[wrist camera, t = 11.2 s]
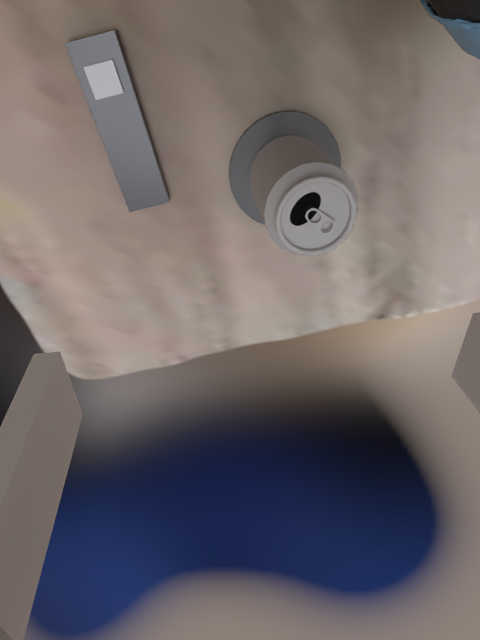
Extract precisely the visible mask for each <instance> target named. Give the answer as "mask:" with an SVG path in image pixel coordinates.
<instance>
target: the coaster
mask: <svg viewBox="0 0 480 640" xmlns="http://www.w3.org/2000/svg"><path fill="white" fill-rule="evenodd" d="M288 135H294V136H300V137H304V138H306V139H308V140H309V141H311V142H313V143H314V144H315V145H316V146H317V147H319V148H320V149H321V150H322V151H323V152H324V153H325V154H326V155H327V156H328V157H330V158H331V159H332V160H333V161H334V162H335V163H336V164H337V165H338V166H339V167H341V160H340V153H339V148H338V146H337V143H336V141H335V139H334V137H333V135H332V134H331V132H330V131H329V130H328V129H327V128H326V127H325V126H324V125H323V124H322V123H321V122H320V121H318V120H317V119H315V118H313V117H312V116H310V115H307V114H304V113H301V112H295V111H284V112H277V113H274V114H270V115H268V116H266V117H263V118H262V119H260V120H258V121H257V122H255V123H254V124H253V125H252V126H250V127H249V128H248V129H247V130H246V131H245V133H244V134H243V135H242V137H241V138H240V139H239V141H238V143H237V145H236V147H235V149H234V151H233V154H232V158H231V162H230V170H229V177H230V184H231V189H232V192H233V195H234V197H235V199H236V201H237V203H238V205H239V206H240V207H241V209H242V210H243V211H244V212H245V213H246V214H247V215H248V216H249V217H251V218H252V219H254V220H255V221H257V222H259V223H262V224H264V221H263V219H262V216H261V214H260V211H259V209H258V206H257V204H256V201H255V199H254V196H253V194H252V191H251V188H250V180H249V175H250V170H251V165H252V163H253V161H254V159H255V157H256V155H257V153H258V152H259V151H260V150H261V149H262V148H263V147H264V146H265V145H266V144H267V143H269V142H270V141H272V140H274V139H276V138H278V137H282V136H288ZM264 225H265V224H264Z"/></svg>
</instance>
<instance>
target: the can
mask: <svg viewBox="0 0 480 640" xmlns="http://www.w3.org/2000/svg"><path fill="white" fill-rule="evenodd" d="M249 180H250V188H251V191H252V194H253V196H254V199H255V201H256V204H257V206H258V209H259V211H260V214H261V216H262V219H263V221H264V224H265V226H266V229H267V231H268V233H269V235H270V237H271V239H272V240H273V241H274V242H275V243H276V244H277V245H278V246H279V247H280V248H282V249H284V250H286V251H288V252H291V253H293V254H300V255H307V256H314V255H320V254H324V253H326V252H328V251H331V250H333V249H335V248H336V247H337V246H338V245H340V244H341V243H342V242H343V241H344V240H345V239H346V238H347V236H348V235H349V233H350V232H351V230H352V229H353V226H354V223H355V220H356V215H357V212H358V194H357V191H356V188H355V185H354V182H353V181H352V180H351V178H350V177H349V176H348V175H347V173H346V172H345V171H344V170H343V169H342V168H341V167H339V166H338V165H337V164H336V163H335V162H334V161H333V160H332V159H331V158H330V157H328V156H327V155H326V154H325V153H324V152H323V151H322V150H321V149H320V148H319V147H317V146H316V145H315V144H314V143H313V142H311V141H309V140H308V139H306V138H304V137H300V136H294V135H288V136H282V137H278V138H276V139H274V140H272V141H270V142H269V143H267V144H266V145H265V146H264V147H263V148H262V149H261V150H260V151H259V152H258V153H257V155H256V157H255V159H254V161H253V163H252V165H251V170H250V175H249Z"/></svg>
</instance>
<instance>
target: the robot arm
mask: <svg viewBox="0 0 480 640" xmlns="http://www.w3.org/2000/svg"><path fill="white" fill-rule="evenodd" d="M420 1H421V3H422V5H423V6H424V8H425V10H426V11H427V13H428V14H429V15H430V16H431V17H432V18H434V19H436V20H437V21H438V22H439V23H441V24H443V26H444V27H445V28H446V30H447V31H448V32H449V33H450V35H451V36H452V37H453V39H454V40H455V41H456V43H457V44H458V45H459V46H460V47H461V48H462V50H464V51H465V52H466V53H468V54H470V55H472V56H474V57H476V58H478V59H480V0H420ZM452 377H453V379H454V380H455V381H456V383H457V384H458V385H459V387H460V388H461V389H462V390H463V392H464V393H465V395H466V396H467V397H468V398H469V400H470V401H471V402H472V404H473V405H474V406H475V407H476V409H477V410H478V412H479V413H480V313H473V315H472V318H471V321H470V324H469V326H468V329H467V332H466V335H465V338H464V341H463V344H462V347H461V350H460V353H459V356H458V359H457V362H456V364H455V368H454V370H453V373H452ZM81 418H82V411H81V409H80V406H79V403H78V401H77V398H76V395H75V392H74V390H73V387H72V384H71V381H70V378H69V376H68V373H67V370H66V367H65V365H64V362H63V359H62V356H61V354H60V352H52V353H41V354H34V355H33V357H32V360H31V362H30V364H29V366H28V368H27V370H26V373H25V375H24V377H23V379H22V381H21V384H20V386H19V388H18V390H17V392H16V394H15V397H14V399H13V401H12V403H11V405H10V407H9V409H8V412H7V414H6V416H5V418H4V420H3V423H2V425H1V427H0V640H23V638H24V634H25V631H26V627H27V623H28V619H29V615H30V612H31V608H32V604H33V600H34V597H35V593H36V589H37V585H38V581H39V578H40V574H41V570H42V566H43V562H44V558H45V555H46V551H47V547H48V543H49V540H50V536H51V532H52V528H53V524H54V520H55V517H56V513H57V509H58V505H59V501H60V498H61V494H62V490H63V487H64V483H65V479H66V475H67V471H68V467H69V464H70V460H71V456H72V452H73V448H74V445H75V441H76V437H77V433H78V429H79V426H80V422H81Z"/></svg>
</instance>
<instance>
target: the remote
mask: <svg viewBox="0 0 480 640" xmlns="http://www.w3.org/2000/svg"><path fill="white" fill-rule="evenodd" d="M65 45H66V48H67V50H68V53H69V55H70V58H71V61H72V63H73V66H74V68H75V71H76V74H77V76H78V79H79V82H80V84H81V87H82V89H83V92H84V95H85V97H86V100H87V102H88V105H89V108H90V110H91V113H92V115H93V118H94V121H95V123H96V126H97V128H98V131H99V134H100V136H101V139H102V141H103V144H104V147H105V149H106V152H107V154H108V157H109V160H110V162H111V165H112V167H113V170H114V173H115V175H116V178H117V180H118V183H119V186H120V188H121V191H122V193H123V196H124V199H125V201H126V204H127V206H128V209H129V212H131V211H135V210H139V209H143V208H147V207H151V206H155V205H159V204H163V203H167V202H169V201H170V196H169V192H168V189H167V186H166V183H165V180H164V177H163V174H162V170H161V167H160V164H159V161H158V158H157V155H156V152H155V148H154V145H153V142H152V139H151V136H150V133H149V130H148V126H147V123H146V120H145V117H144V114H143V111H142V108H141V104H140V101H139V98H138V95H137V92H136V89H135V86H134V82H133V79H132V76H131V73H130V70H129V67H128V64H127V60H126V57H125V54H124V51H123V48H122V45H121V42H120V39H119V35H118V32H117V30H113V31H109V32H105V33H102V34H98V35H94V36H90V37H87V38H83V39H79V40H75V41H71V42H68V43H65Z"/></svg>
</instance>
